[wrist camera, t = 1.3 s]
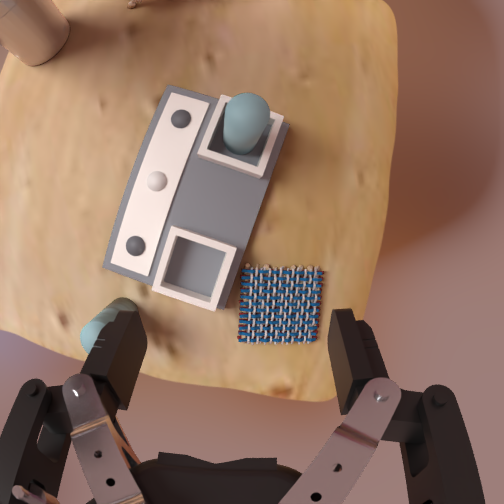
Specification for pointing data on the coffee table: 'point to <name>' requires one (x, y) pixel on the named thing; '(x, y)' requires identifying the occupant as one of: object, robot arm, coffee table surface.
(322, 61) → the coffee table surface
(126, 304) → the teal peg
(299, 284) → the woven mat
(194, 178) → the peg board
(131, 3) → the unicorn figurine
